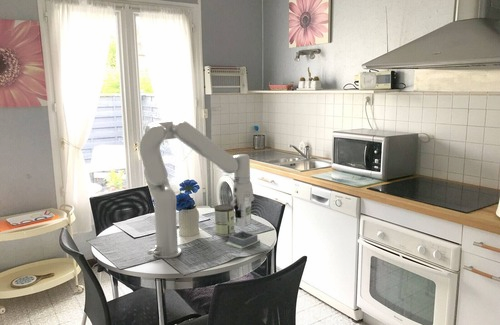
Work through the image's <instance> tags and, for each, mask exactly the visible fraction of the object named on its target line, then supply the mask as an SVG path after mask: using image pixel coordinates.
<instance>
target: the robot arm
mask: <svg viewBox="0 0 500 325" xmlns="http://www.w3.org/2000/svg"><path fill="white" fill-rule="evenodd" d="M172 139H173V140H174V139H177V140H179V141H180V142H182V143H183V144H185V145H186V146H187V147H188V148H190V149H191V150H192V151H194V152H195V153H196V154H198V155H199V156H201V157H203V158H205V159H207V160H208V161H210V162H211V163H212V164H215V165H216V166H217V167H218V168H219V170H221V171H223V172H225V174H233V173H234V174H233V175H234V179H233V182H234V183H233V187H232V189H233V190H232V200H231V202H230V205H231V206H232V207H233V208H234V218H235V219H236V218H241V210H240V207H241V205H243V204H244V198H248V197H249V202H251V207H252V206H253V203H254V200H255V198H256V197H255V195H254V189H253V184H252V181H251V167H250V166H251V165H250V162H251V161H250V159H251V158H250V156H249V155H248V154H246V153H238V154H230V153H228V152H227V151H226V150H224V149H223V148H222V147H220V146H219V145H218V144H216V143H215V142H214V141H213V140H211V138H209V137H208V136H207V135H204V134H203V132H201V131H200V130H198V129H197V128H195V127H194V126H193V125H192V124H190V123H189V122H188V121H185V120H184V119H183V120H182V119H174V120H167V121H156V122H150V123H148V124H147V125H146V127H145V129H144V135H142V138H141V140H140V144H139V153H140V157H141V161H142V164H143V167H144V170H143V171H144V173H143V174H144V177H145V181H146V184H147V187H148V189H149V191H150V195H151V197H152V199H153V202H154V223H155V226H154V227H155V243H156V245H154V246H153V248H152V249H149V250H147V255H148V256H150V255H153V256H154V257H155V258H157V259H165V260H167V259H173V258H176V257H178V256H180V255H181V254H182V248H180V247H179V245H178V224H177V223H178V222H177V195H176V193H175V191H174V189H173V188H172V187H171V185H170V182H169V178H168V170H167V168H166V165H165V162H164V159H163V157H162V153H161V145H162V143H163V142H165V140H172ZM237 202H238V203H237ZM237 205H238V207H237Z"/></svg>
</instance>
